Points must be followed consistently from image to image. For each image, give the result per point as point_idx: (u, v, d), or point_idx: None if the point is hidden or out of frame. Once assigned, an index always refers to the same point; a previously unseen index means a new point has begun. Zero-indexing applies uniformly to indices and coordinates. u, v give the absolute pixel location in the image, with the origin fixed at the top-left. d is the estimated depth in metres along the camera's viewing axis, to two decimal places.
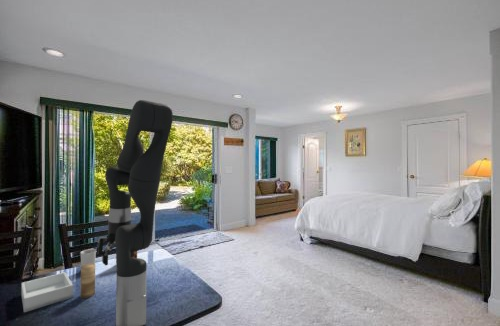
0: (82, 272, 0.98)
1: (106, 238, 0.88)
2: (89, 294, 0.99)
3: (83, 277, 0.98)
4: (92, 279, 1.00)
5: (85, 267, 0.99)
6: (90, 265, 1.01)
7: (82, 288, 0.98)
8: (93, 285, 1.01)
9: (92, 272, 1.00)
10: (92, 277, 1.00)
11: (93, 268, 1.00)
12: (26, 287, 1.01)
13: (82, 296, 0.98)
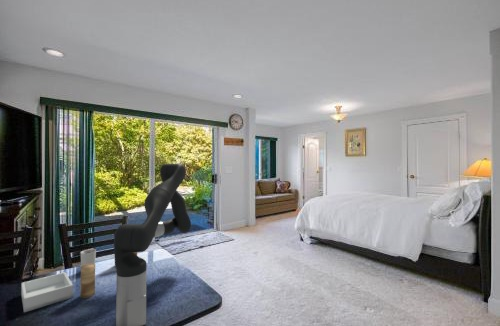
0: (82, 272, 0.98)
1: None
2: (89, 294, 0.99)
3: (83, 277, 0.98)
4: (92, 279, 1.00)
5: (85, 267, 0.99)
6: (90, 265, 1.01)
7: (82, 288, 0.98)
8: (93, 285, 1.01)
9: (92, 272, 1.00)
10: (92, 277, 1.00)
11: (93, 268, 1.00)
12: (26, 287, 1.01)
13: (82, 296, 0.98)
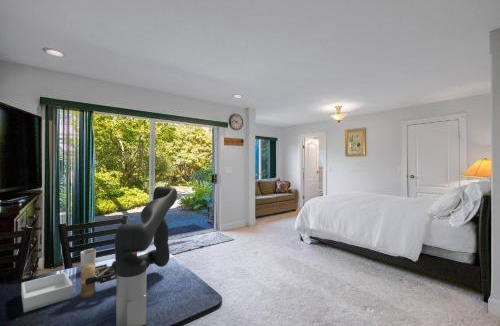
0: (82, 272, 0.98)
1: None
2: (89, 294, 0.99)
3: (83, 277, 0.98)
4: None
5: (85, 267, 0.99)
6: (90, 265, 1.01)
7: (82, 288, 0.98)
8: (94, 284, 1.01)
9: (92, 272, 1.00)
10: None
11: (93, 268, 1.00)
12: (26, 287, 1.01)
13: (82, 296, 0.98)
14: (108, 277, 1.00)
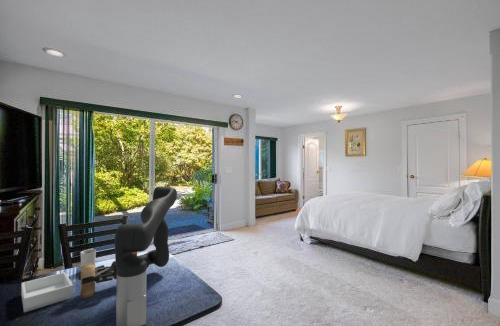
0: (82, 272, 0.98)
1: None
2: (89, 294, 0.99)
3: (83, 277, 0.98)
4: None
5: (85, 267, 0.99)
6: (90, 265, 1.01)
7: (82, 288, 0.98)
8: (93, 284, 1.01)
9: (92, 272, 1.00)
10: None
11: (93, 268, 1.00)
12: (26, 287, 1.01)
13: (82, 296, 0.98)
14: (104, 277, 1.00)
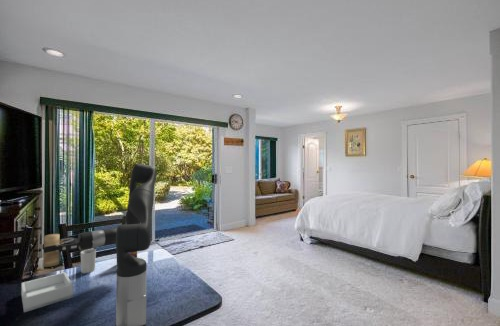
0: (45, 241, 0.98)
1: None
2: (52, 263, 0.99)
3: (46, 246, 0.98)
4: None
5: (48, 236, 0.99)
6: (54, 235, 1.01)
7: (45, 257, 0.98)
8: (57, 254, 1.01)
9: (55, 241, 1.00)
10: None
11: (57, 237, 1.00)
12: (26, 287, 1.01)
13: (45, 265, 0.98)
14: (67, 247, 0.99)
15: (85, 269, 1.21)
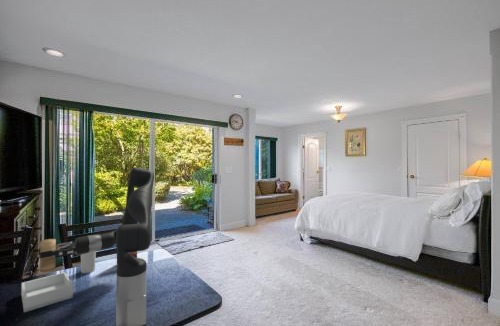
0: (41, 246, 0.98)
1: None
2: (48, 268, 0.98)
3: (42, 251, 0.98)
4: None
5: (44, 241, 0.99)
6: (50, 240, 1.01)
7: (41, 262, 0.98)
8: (53, 259, 1.00)
9: (52, 247, 0.99)
10: None
11: (53, 243, 1.00)
12: (26, 287, 1.01)
13: (41, 270, 0.98)
14: (64, 252, 0.99)
15: (85, 269, 1.21)
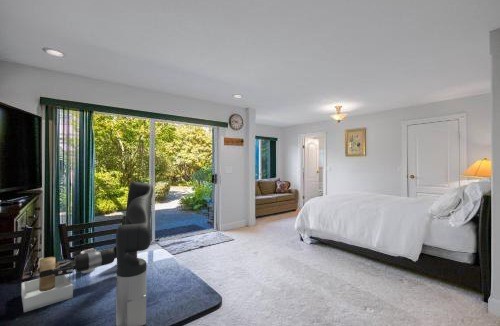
0: (41, 265, 0.98)
1: None
2: (48, 287, 0.98)
3: (42, 270, 0.97)
4: None
5: (44, 260, 0.99)
6: (50, 258, 1.01)
7: (41, 281, 0.97)
8: (53, 278, 1.00)
9: (51, 265, 0.99)
10: None
11: (53, 261, 1.00)
12: (26, 287, 1.01)
13: (41, 289, 0.97)
14: (63, 271, 0.99)
15: None
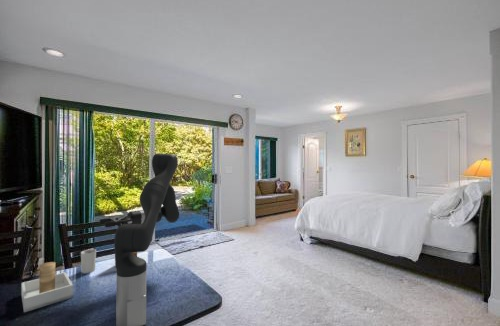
0: (41, 270, 0.98)
1: None
2: None
3: (42, 276, 0.97)
4: (51, 277, 0.99)
5: (44, 265, 0.99)
6: (50, 263, 1.00)
7: (41, 287, 0.97)
8: (53, 283, 1.00)
9: (51, 270, 0.99)
10: (51, 275, 0.99)
11: (53, 266, 1.00)
12: (26, 287, 1.01)
13: None
14: (125, 222, 1.09)
15: (85, 269, 1.21)
